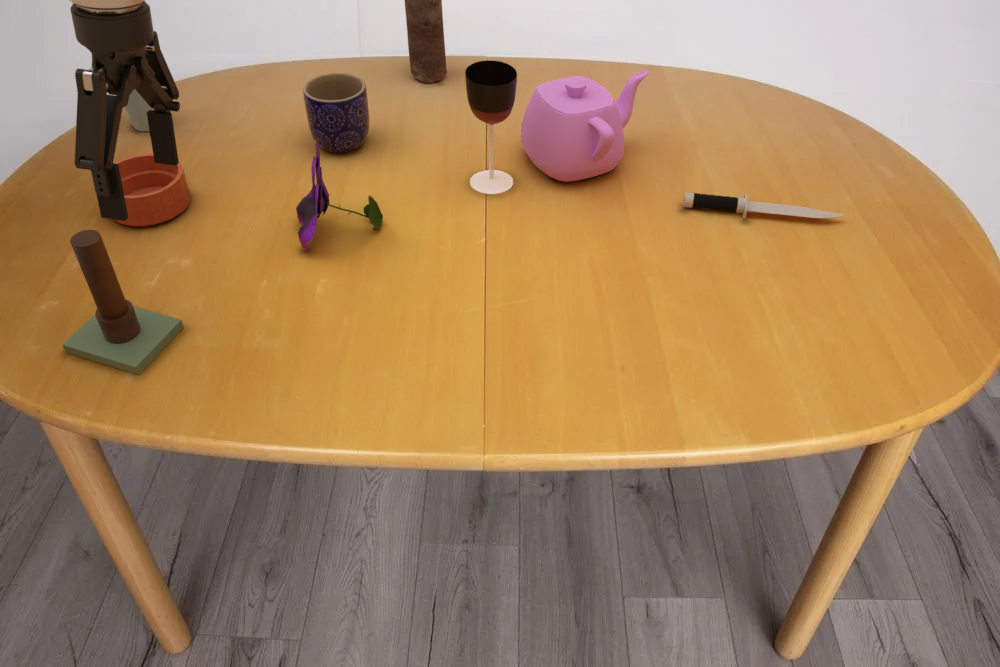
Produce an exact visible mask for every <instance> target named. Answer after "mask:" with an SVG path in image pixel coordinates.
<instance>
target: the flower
mask: <svg viewBox="0 0 1000 667" xmlns="http://www.w3.org/2000/svg"><path fill="white" fill-rule="evenodd" d="M310 169H311V172H310V173H311V183H312V186H311V189H310V190H309V191H308V193H307V194H306V195H305V196H304V197H302V198H301V200H300V201H299V203H298V204H297V206H296V208H295V210H296V215H297V219H298V222H299V223H298V224H299V226H300V227H299V229H298V231H297V236H298V240H299V244H300V245H301V246H300V247H302V248H303V250H304V251H306V252H309V247H308V245H307V244H309V243H310V242H312V240H313V238H314V236H315V234H316V231H317V230H316V229H317V226H318V224H317V223H318V219H319V218H320V216H321V217H322V216H324V215H325V214H326V212H327V210H328V208H329V207H331V208H334V209H337V210H339V211H340V210H341V211H344V212H349V213H348V214H347V216H349V215H350V214H351V213H353V214H356V215H359V216H361V217H364V218H367V219H368V220H369V221H370V222H369V223H370V224H371V225H372V226H373V230H375V229H376V230H377V229H381V228H382V224H383V222H384V221H383V220H384V218H383V217H384V214H383V213H382V211H381V209H380V206H379V204H378V202H377V201H376V200H375V198H373V196H371V195H368V198H367V199H368V204H365V206H364V207H363V214H362V213H360V212H358V211H355V210H351V209H345V208H342V207H341V204H339V205H338V206H336V205H333V204H330V193H329V191H328V189H327V187H326V185H325V181H324V179H323V169H322V167H321V151H320V146H319V145H318V143H316V144H315V154H314V155H313V156H312V161H311V168H310Z"/></svg>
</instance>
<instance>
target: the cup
mask: <svg viewBox="0 0 1000 667" xmlns="http://www.w3.org/2000/svg"><path fill="white" fill-rule="evenodd" d="M124 109H125V111H126V113H127V115H128V117H129V120H130V123H131V125H132V126H133V128H134V129H135V130H136V131H138V132H150V131H149V124H148V118H147V112H148V111H149V110H153V111H154V108H151V107H150V106H149V105H148V104H147V103H146V101H145V100H144V99H143V98H142V97H141V96H140V94H139V93H138V92H137V91H136V90H135V89H134V90H133V91H132V93H131V94H130V95H129V101H128V105H127V106H125V107H124Z"/></svg>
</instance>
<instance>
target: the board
mask: <svg viewBox="0 0 1000 667" xmlns="http://www.w3.org/2000/svg"><path fill="white" fill-rule="evenodd" d="M133 308H134V310H135V313H136V316H137V318H138V321H139V324H140V326H141V330H140V333H139V334H138V335H137V336H136V337H135V338H134V339H132V340H131V341H128V342H126V343H121V344H113V343H110V342H108V341H107V340H106V339H105V338H104V335H103V333H102V331H101V328H100V326H99V323H98V321H97V319H96V316H95V314H94V315H93V316H92V317H90V318H89V319H88V320H87V321H85V323H84V324H83V325H82V326H81V327H80V328H79V329H77V331H75V332H74V333H73V334H72V335H71V336H69V338H68V339H66V341H65V342H63V343H62V344H61V345H62V347H63V350H64V352H65V353H66V354H69V355H73V356H76V357H79V358H82V359H85V360H89V361H92V362H95V363H98V364H102V365H105V366H107V367H112V368H115V369H118V370H122V371H124V372H128V373H131V374H134V375H137V376H139V375H140V374H141V373H142V372H143V371H144V370H145V369H146V368H147V367H148V366H149V365H150V364H151V363H152V362H153V361H154V359H155V358H156V357H157V356H158V355H159V354H160V353H161V352H162V351H163V350H164V349H165V348H166V347H167V346H168V345H169V344H170V343H171V342H172V341H173V340H174V338H176V336H177V335H178V334H179V333H180V332H181V331H182V330H184V328H185V327H184V324H183V321H182V319H180V318H176V317H173V316H169V315H166V314H163V313H158V312H155V311H152V310H148V309H145V308H142V307H138V306H135V305H133Z"/></svg>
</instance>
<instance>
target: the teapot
mask: <svg viewBox="0 0 1000 667" xmlns="http://www.w3.org/2000/svg"><path fill="white" fill-rule="evenodd" d="M649 74H650V71H649V70H648V69H647V70H644V69H643V70H640V71H637V72H635V73H634V74H632V75H631V76H630V77H629V78H628V79H627V80H626V83H625V84H624V86H623V87H622V90H621V93H620V94H619V96H618V99H616V101H615V98H614V97H613V96H612V94H611V93H610V92H609V90H608V89H606V87H604V86H603V85H601V84H600V83H599V82H598V81H595V80H593V79H592V78H589V77H587V76H582V75H574V76H569V77H568V76H567V77H561V78H557V79H554V80H549V81H546V82H543V83H540V84H538V85H537V86H536V88H535V89H534V91H533V93H532V95H531V97H530V99H529V101H528V103H527V105H526V108H525V110H524V113H523V117H522V122H521V127H520V140H521V144H522V148H523V149H524V151H525V153H526V155H527V156H528V158H529V160H530V161H531V162H532V163H533V165H534V166H535V167H536V168H537V169H538V170H540V171H541V172H542V173H544V174H545V175H547V176H548V177H550V178H552V179H554V180H557V181H560V182H575V181H580V180H586V179H589V178H593V177H596V176H597V177H598V176H600V175H603V174H606V173H609V172H611V171H613V170H614V169H615V168H616V167H617V166H618V165H619V163H620V162H621V161H622V159H623V157H624V154H625V132H624V128H626V126H627V124H628V123H629V122H630V119H631V118H632V114H633V109H634V102H635V97H636V93H637V90H638V87H639V85H640V84H641V82H642V81H643V80H645V78H646V77H647V76H648V75H649Z"/></svg>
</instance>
